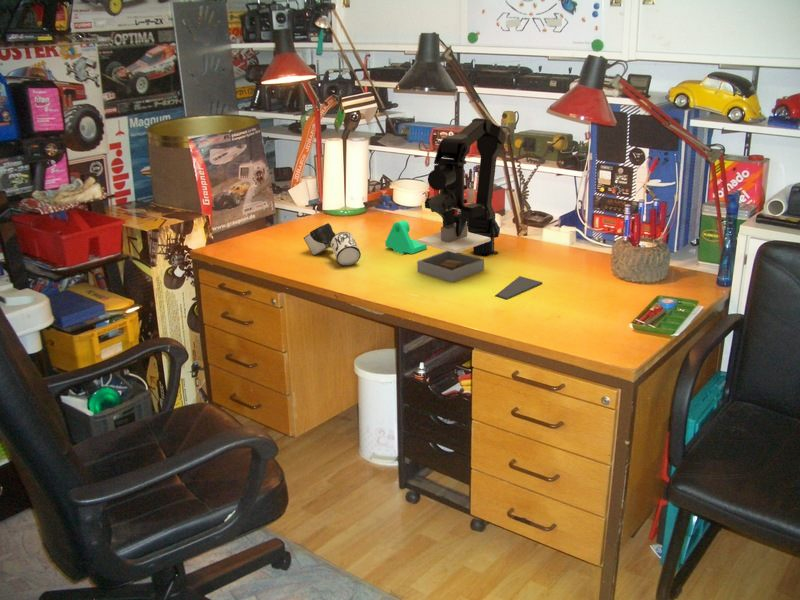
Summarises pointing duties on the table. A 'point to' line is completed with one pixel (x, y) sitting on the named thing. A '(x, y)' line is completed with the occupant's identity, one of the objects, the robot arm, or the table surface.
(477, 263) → the storage box
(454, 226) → the lid
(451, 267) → the walnut block
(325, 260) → the table surface
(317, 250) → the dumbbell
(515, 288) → the rubber mat
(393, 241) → the camera mount
